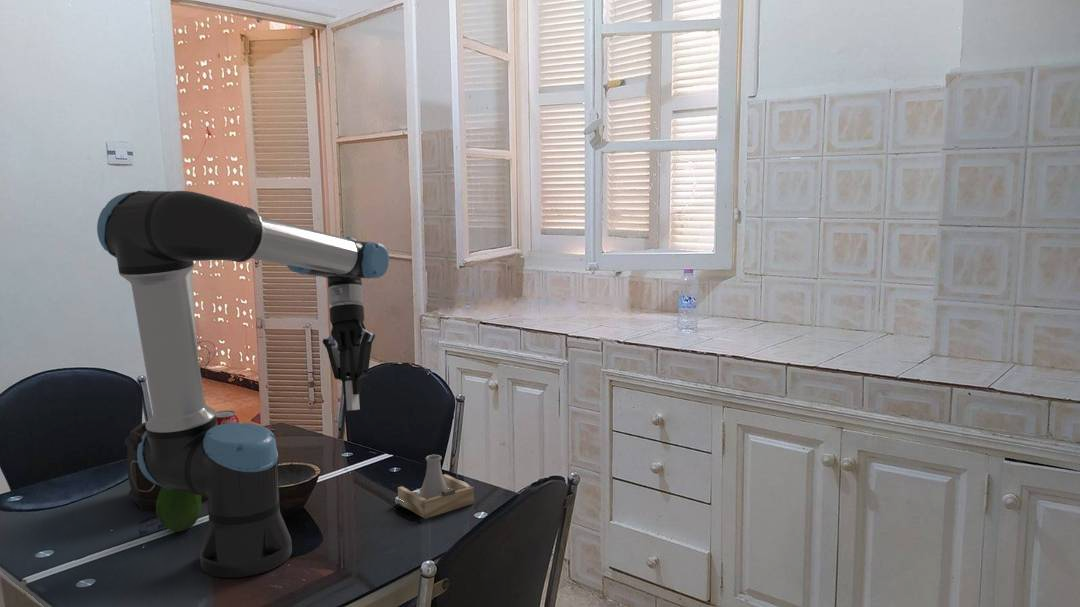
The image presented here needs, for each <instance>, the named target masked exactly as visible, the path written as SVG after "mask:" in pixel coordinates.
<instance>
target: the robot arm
mask: <svg viewBox="0 0 1080 607" xmlns="http://www.w3.org/2000/svg"><path fill="white" fill-rule="evenodd" d="M96 225H97V226H96V233H97V238H98V241H99V243H100V245H101V247H102V248H103V250H104V251H106V252H107V253H108V254H109V255H111V256H112V257H114V258H115V259H116V262H117V268H118V273H119V276H120V277H122V278H124V279H125V280H126V281H128V282H129V284H131V291H132V297H133V303H134V308H135V313H136V314H135V315H136V320H137V321H136V322H137V326H138V333H139V337H140V344H141V349H142V350H141V351H142V355H143V361H144V367H145V373H146V378H147V385H148V391H149V396H150V403H151V408H152V416H150V417H149V419H148V420H147V421H146V422H147V423H146V422H145V423H146V432H145V433H144V435H143V436H142V442H141V443H140V444H139V445H138V450H137V460H138V465H139V467H140V470H141V472H142V473H143V475H144V476H145V477H146V478H147V479H148V480H150V481H151V482H153V483H155V484H158V485H160V486H161V487H165V488H167V489H171V490H180V491H184V492H188V493H193V494H197V495H201V496H206V497H208V500H207V509H208V524H207V528H206V531H205V535H204V538H203V542H202V546H201V549H200V551H199V553H200V554H199V555H200V557H199V558H200V568H201V570H202V571H203V572H204V573H206V574H207V575H209V576H211V577H216V578H217V577H218V578H222V579H225V578H226V579H228V578H229V579H234V578H243V577H250V576H254V575H255V576H256V575H258V574H263V573H265V572H268V571H271V570H273V569H276V568H278V567H279V566H281V565H282V564H284V563H286V562H287V560H288V559H289V558H290V557H291V555H292V553H293V547H292V545H293V544H292V537H291V535H290V533H289V530H288V528H287V525H286V523H285V520H284V518H283V516H282V514H281V510H280V509H281V508H280V486H279V482H280V481H279V452H278V449H277V441H276V436H275V434H274V433H273V431H271V430H270V429H269V428H267V427H266V426H263V425H260V424H256V423H253V422H252V423H251V422H243V423H241V422H239V423H226V424H221V425H218V424H217V418H216V412H217V411H216V410H214V408H212V407H210V406H208V404H206V400H205V394H204V386H203V380H202V374H201V366H200V361H199V354H198V353H199V352H198V346H197V341H196V337H195V336H196V333H195V328H194V323H193V320H194V319H193V314H192V307H191V302H190V296H189V289H188V288H189V287H188V280H187V277H188V275H189V273H190V272H191V271H192V270H193V269H194V267H195V266H194V262H201V261H229V262H236V263H244V262H247V261H249V260H251V259H252V260H258V261H263V262H270V263H275V264H281V265H284V266H285V265H286V267H287V268H288V269H289V270H290V271H291V272H294V273H297V274H299V275H301V276H302V275H305V276H308V275H309V276H313V277H314V276H315V277H323V278H326V279H327V288H328V304H329V305H330V306H331V307H330V308H329V322H330V324H331V330H330V335H329V336H328V337H327V338H323V339H322V343H323V345H324V347H325V348H326V350H327V355H328V358H329V363H330V366H331V370H332V374H333V378H334V379H335V380H339V381H341V382H342V393H343V396H345V400H346V401H345V402H346V411H358V410H361V408H360V405H361V404H360V395H361V394H362V384H361V380H362V378H364V377H367V376H368V375H369V370H370V369H369V368H370V362H371V361H370V359H371V353H372V346H373V341H374V339H375V337H376V334H375V332H370V331H368V330H366V327H365V324H364V321H365V310H364V308H365V307H364V306H363V305H362V304H363V303H364V295H363V294H364V292H363V284H362V282H363V281H362V279H366V280H367V279H368V280H370V279H379V278H382V277H383V276H384V275H385V274H387V271H388V269H389V261H390V256H389V251H388V250H387V247H386V246H385V245H383V244H382V243H381V242H373V241H360V240H357V239H356V238H355V237H351V236H339V235H335V234H331V233H327V232H323V231H320V230H315V229H312V228H308V227H303V226H299V225H296V224H291V223H287V222H283V221H279V220H275V219H272V218H268V217H264V216H260V214H259V213H258V212H257V211H256V210H255V209H253V208H251V207H248V206H244V205H241V204H236V203H234V202H230V201H227V200H224V199H220V198H217V197H215V196H211V195H207V194H203V193H199V192H197V191H196V192H195V191H188V190H174V191H172V190H170V191H169V190H168V191H167V190H161V191H160V190H159V191H157V190H155V191H154V190H137V191H131V192H124V193H121V194H119V195H117V196H114V197H113V198H112V199H110V200H109V201H107V203H106V205H105V206H104V207H103V208H102V209H101V212H100V213H99V215H98V219H97V224H96Z"/></svg>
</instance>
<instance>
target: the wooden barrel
mask: <svg viewBox="0 0 1080 607" xmlns="http://www.w3.org/2000/svg"><path fill="white" fill-rule="evenodd" d="M146 423H147V421H146V422H143V423H140V424H138V425H136V426H135V427H134V428H132V429H131V430H130V431H129V433H128V437H126V438H125V439H124V440H125V441H124V444H125V446H127V448H126V449H127V450H126V451H127V452H126V464H127V468H126V469H127V478H128V482H129V487H130V490H129V491H128V495H129V498H131V499H132V500H133V501H134V503H135V504H136V505H137V506H138V507H139V508H140V509H142V511H155V512H156V501H157V498H158V495H159V492H160V489H161V486H160V485H158V484H155V483H153V482H151V481H150V480H148V479H147V478H146V477H145V476H144V475H143V473H142V472H141V470H140V467H139V465H138V460H137V450H138V445H139V444H140V443H141V442H142V436H143V435H144V433H145V432H146ZM206 501H208V497H206V496H201V503H203V502H206Z"/></svg>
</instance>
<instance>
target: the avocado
mask: <svg viewBox="0 0 1080 607" xmlns="http://www.w3.org/2000/svg"><path fill="white" fill-rule="evenodd" d="M201 509H202V502H201V495H197V494H193V493H188V492H184V491H180V490H171V489H167V488H165V487H161V489H160V492H159V495H158V498H157V501H156V511H155V514H156V515H157V517H158V519H159V521H160V523H161V525H162V526H163V527H165V528H166V529H167V530H169V531H172V532H178V533H179V532H186V531H187V530H188V529H190V528H191V527H193V526H194V525H195V524H196V523H197V521H198V520H199V517H200V515H201Z"/></svg>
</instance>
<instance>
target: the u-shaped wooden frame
mask: <svg viewBox="0 0 1080 607" xmlns="http://www.w3.org/2000/svg"><path fill="white" fill-rule="evenodd" d="M442 475H443V477H444V480H445V482H446V485H447V487H448V488H449V489H446V490H443V491H442V495H439V496H436V497H432V498H429V499H425V498H423V497H421V496H419V494H418V493H415V492H413V491H411V490H410V489H408V488H406V487H405V486H403V485H401V486H397V503H398V504H399V505H400V506H402V507H404V508H405V509H408V510H409V511H411V512H413V513H414V514H416V515H418V516H419V517H422V519H424V520H425V519H426V520H427V519H429V518H432V517H436V516H439V515H441V514H445V513H448V512H451V511H455V510H457V509H461V508H464V507H467V506H469V505H473V504H475V492H474V491H475V490H474V488H475V487H474V486H472V485H470V484H467V483H465V482H464V481H461V480H459V479H457V478H455V477H453V476H451V475H449V474H447V473H444V474H442ZM398 498H399V499H401V500H403V501H404V502H403V501H401V500H399V499H398ZM406 503H407V504H406Z"/></svg>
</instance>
